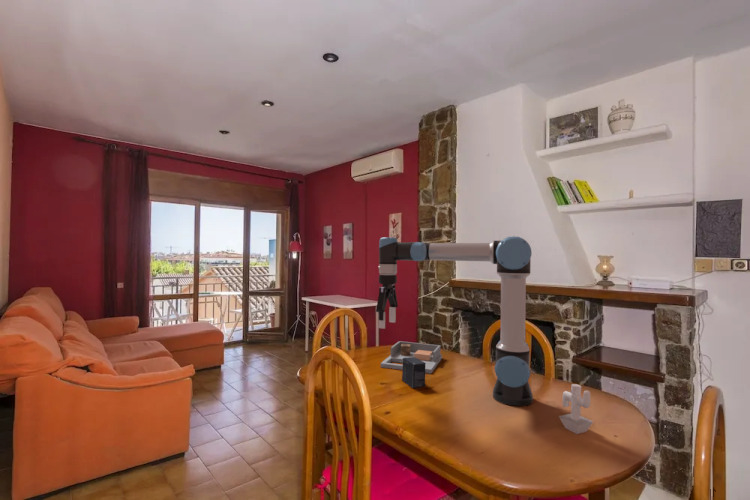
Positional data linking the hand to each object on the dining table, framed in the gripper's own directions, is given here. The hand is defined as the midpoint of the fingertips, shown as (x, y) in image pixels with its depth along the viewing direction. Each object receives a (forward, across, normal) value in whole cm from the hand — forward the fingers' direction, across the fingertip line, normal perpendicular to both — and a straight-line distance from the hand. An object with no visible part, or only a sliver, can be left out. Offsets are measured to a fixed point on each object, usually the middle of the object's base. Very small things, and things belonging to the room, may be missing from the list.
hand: (387, 325), depth 154 cm
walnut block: (+26, -51, -7) cm, 58 cm away
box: (+28, -14, +8) cm, 33 cm away
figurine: (+28, +7, +69) cm, 75 cm away
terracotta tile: (+26, -48, +4) cm, 55 cm away
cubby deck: (+28, -44, -1) cm, 52 cm away
